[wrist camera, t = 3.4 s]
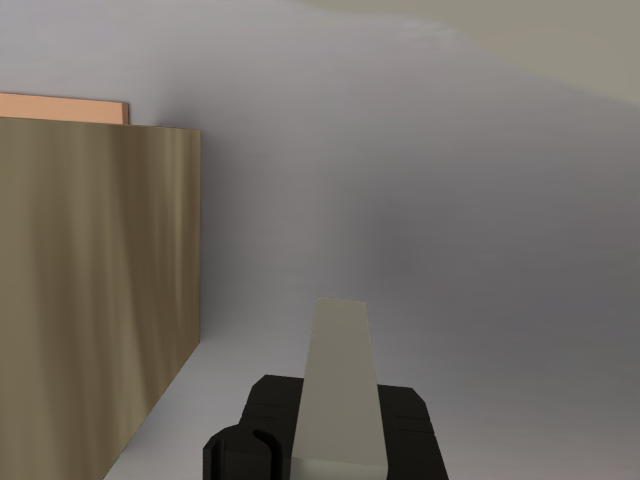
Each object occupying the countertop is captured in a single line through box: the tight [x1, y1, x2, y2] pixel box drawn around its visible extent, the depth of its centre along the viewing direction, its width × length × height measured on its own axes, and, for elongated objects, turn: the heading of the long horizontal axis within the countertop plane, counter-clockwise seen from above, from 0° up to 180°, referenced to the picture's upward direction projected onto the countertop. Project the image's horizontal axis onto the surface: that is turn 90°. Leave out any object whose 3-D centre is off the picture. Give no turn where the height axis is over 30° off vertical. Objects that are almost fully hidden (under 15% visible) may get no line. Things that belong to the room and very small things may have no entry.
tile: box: [0, 116, 201, 480], centre depth 15 cm, size 2×12×15 cm, turn 175°
